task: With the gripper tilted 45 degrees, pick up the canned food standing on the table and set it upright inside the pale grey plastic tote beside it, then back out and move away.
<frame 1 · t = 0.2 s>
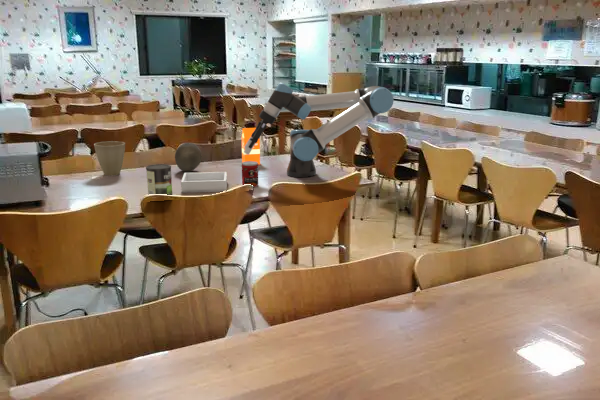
hand: (245, 151, 255), 15 cm above the table, tool tilted 35°, fingers open, 13 cm apart
plant pot: (112, 174, 273), on the table
canned food: (250, 185, 252), on the table
orange juice: (251, 163, 301), on the table
cantaloupe: (189, 171, 280), on the table
tote: (205, 187, 249), on the table
coffee can: (160, 198, 230), on the table
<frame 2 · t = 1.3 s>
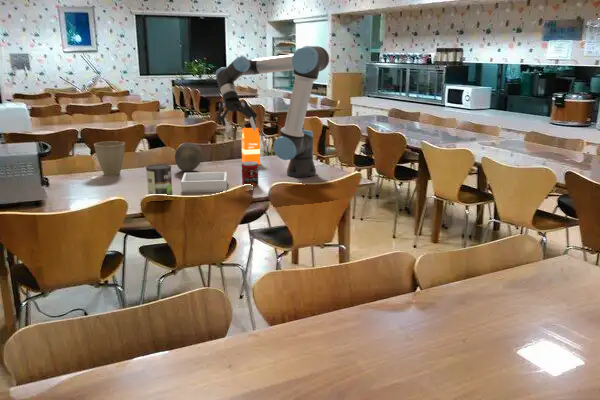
hand: (241, 130, 254), 25 cm above the table, tool tilted 45°, fingers open, 13 cm apart
nothing on the table moved.
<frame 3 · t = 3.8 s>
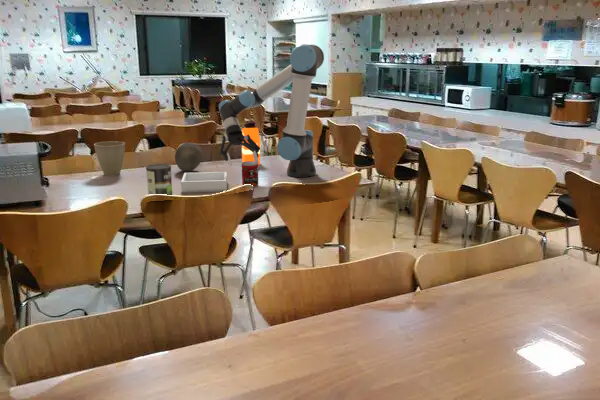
hand: (244, 164, 253), 9 cm above the table, tool tilted 45°, fingers open, 13 cm apart
nothing on the table moved.
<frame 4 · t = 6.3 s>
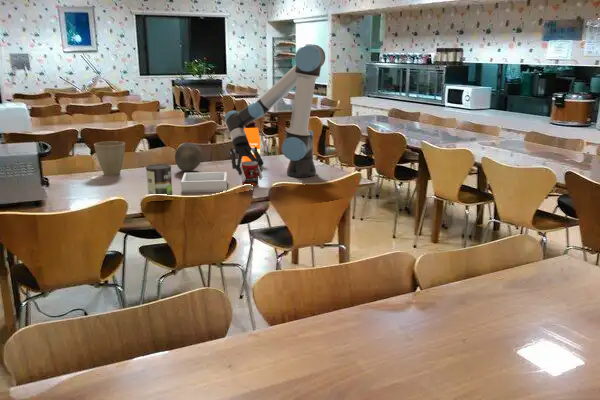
hand: (252, 179, 248), 4 cm above the table, tool tilted 45°, fingers closed on canned food, 8 cm apart
canned food: (250, 185, 252), on the table, touching gripper
everything else where it was.
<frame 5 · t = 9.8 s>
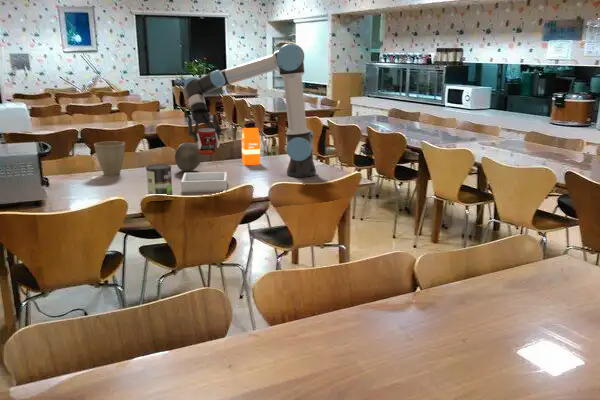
hand: (209, 146, 241), 20 cm above the table, tool tilted 45°, fingers closed on canned food, 8 cm apart
canned food: (207, 153, 245), point 16 cm above the table, touching gripper
everything else where it was.
when the fingers open (6 cm above the table, at t = 13.2 s): canned food drops 1 cm, resting on tote.
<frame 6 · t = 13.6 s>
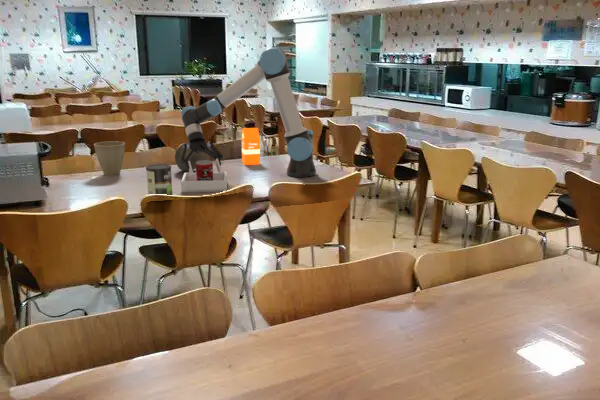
hand: (206, 173, 245), 7 cm above the table, tool tilted 45°, fingers open, 13 cm apart
canned food: (205, 185, 249), point 1 cm above the table, touching tote
everything else where it was.
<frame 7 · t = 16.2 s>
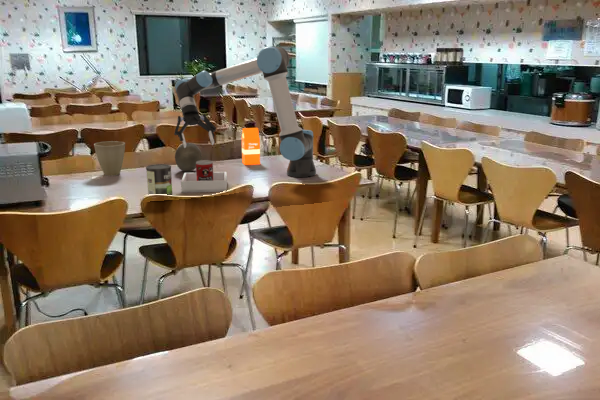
hand: (199, 144, 255), 18 cm above the table, tool tilted 40°, fingers open, 13 cm apart
nothing on the table moved.
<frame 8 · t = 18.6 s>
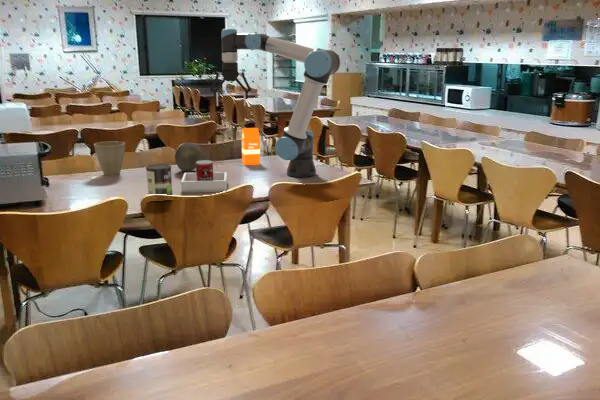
hand: (231, 105, 267), 35 cm above the table, tool pointing down, fingers open, 13 cm apart
nothing on the table moved.
at the end: canned food inside the target area on the tote (0.2 cm from its centre), point 0.8 cm above the tote's base; canned food tilted 0°; the gripper is holding nothing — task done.
